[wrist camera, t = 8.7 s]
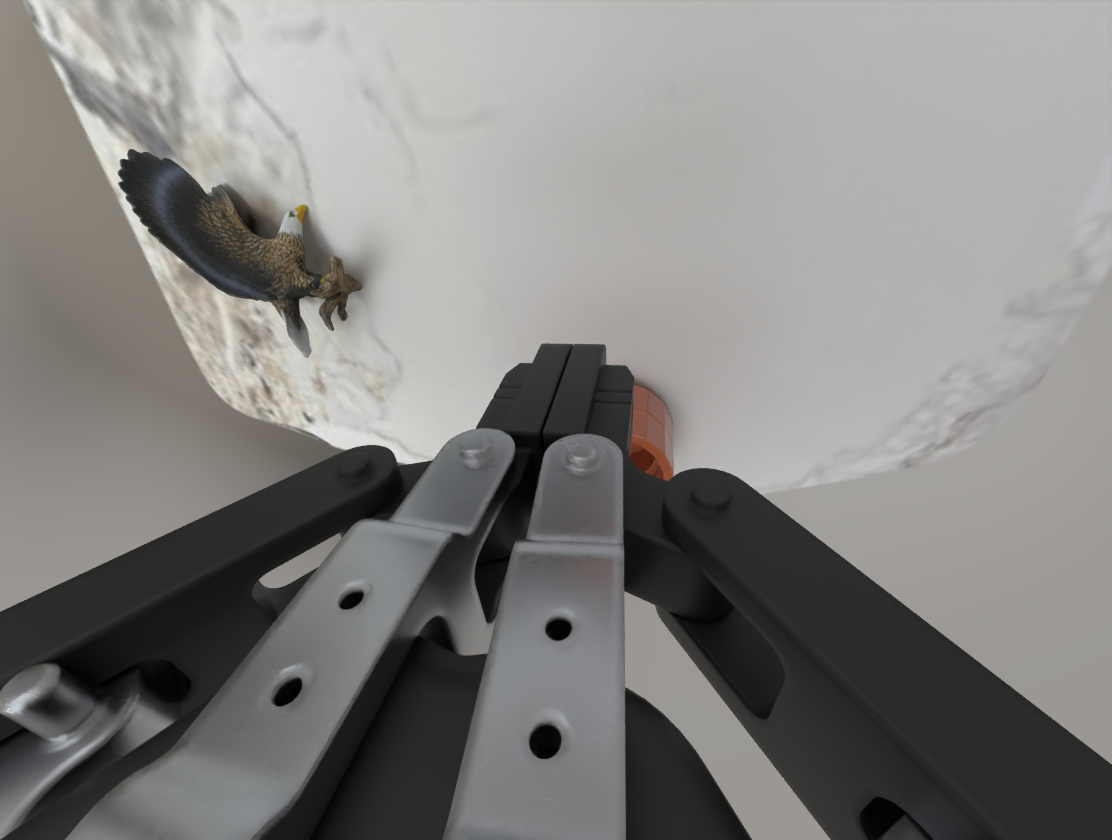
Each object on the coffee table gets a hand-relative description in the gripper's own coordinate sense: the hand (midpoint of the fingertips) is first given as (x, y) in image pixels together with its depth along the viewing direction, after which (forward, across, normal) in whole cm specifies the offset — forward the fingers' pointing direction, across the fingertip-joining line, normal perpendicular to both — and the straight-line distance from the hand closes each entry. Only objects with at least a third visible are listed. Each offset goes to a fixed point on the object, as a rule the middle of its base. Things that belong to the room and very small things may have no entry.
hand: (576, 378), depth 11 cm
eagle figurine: (+13, +17, 0) cm, 22 cm away
